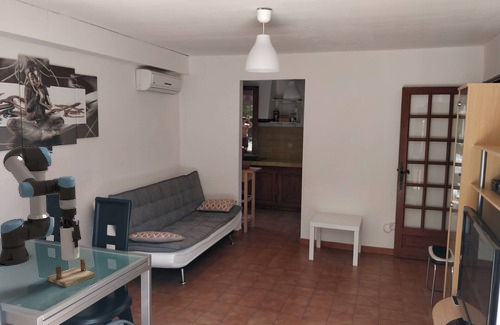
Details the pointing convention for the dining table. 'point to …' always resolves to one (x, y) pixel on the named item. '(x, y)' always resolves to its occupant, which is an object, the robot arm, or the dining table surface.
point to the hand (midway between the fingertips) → (70, 252)
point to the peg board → (71, 275)
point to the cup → (67, 244)
